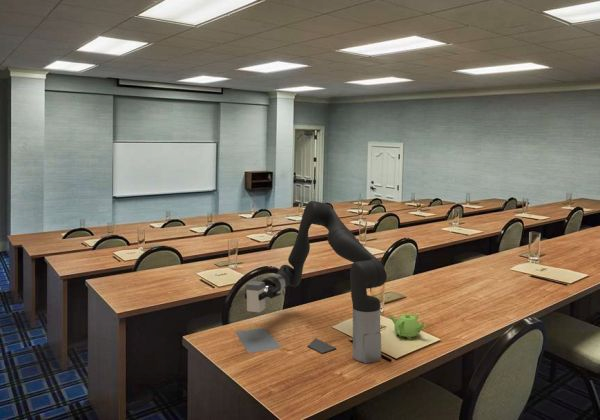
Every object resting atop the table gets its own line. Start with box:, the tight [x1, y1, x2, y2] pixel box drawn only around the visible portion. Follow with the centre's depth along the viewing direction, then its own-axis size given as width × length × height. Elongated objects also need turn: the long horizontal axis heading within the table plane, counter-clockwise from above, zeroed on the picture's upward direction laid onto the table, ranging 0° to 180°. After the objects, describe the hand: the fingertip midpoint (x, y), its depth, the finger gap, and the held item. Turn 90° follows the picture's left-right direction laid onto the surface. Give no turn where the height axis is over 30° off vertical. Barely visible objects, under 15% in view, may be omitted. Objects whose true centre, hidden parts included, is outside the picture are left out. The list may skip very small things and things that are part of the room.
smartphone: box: [306, 337, 337, 355], centre depth 172 cm, size 7×1×15 cm
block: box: [245, 280, 266, 313], centre depth 175 cm, size 5×5×10 cm
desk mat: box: [235, 327, 282, 354], centre depth 177 cm, size 22×12×1 cm, turn 20°
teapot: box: [389, 313, 427, 340], centre depth 179 cm, size 11×12×8 cm
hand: (252, 297), depth 173 cm, fingers closed on block, 5 cm apart
